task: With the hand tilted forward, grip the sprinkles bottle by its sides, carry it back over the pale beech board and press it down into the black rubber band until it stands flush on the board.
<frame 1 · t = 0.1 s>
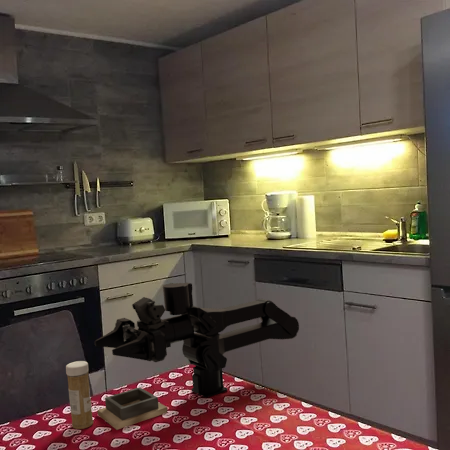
hand: (103, 347, 115), 17 cm above the table, tool horizontal, fingers open, 9 cm apart
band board: (132, 413, 121), on the table
sprinkles bottle: (82, 426, 117), on the table
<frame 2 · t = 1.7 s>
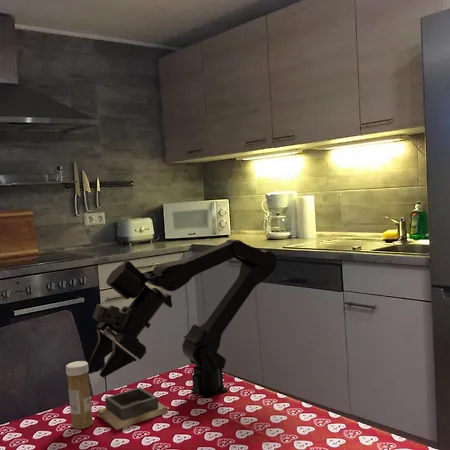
hand: (95, 370, 118), 11 cm above the table, tool tilted 45°, fingers open, 9 cm apart
nothing on the table moved.
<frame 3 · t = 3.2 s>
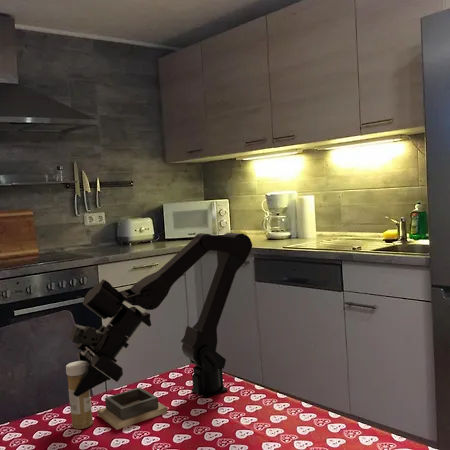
hand: (72, 392, 116), 8 cm above the table, tool tilted 45°, fingers closed on sprinkles bottle, 4 cm apart
sprinkles bottle: (82, 426, 117), on the table, touching gripper
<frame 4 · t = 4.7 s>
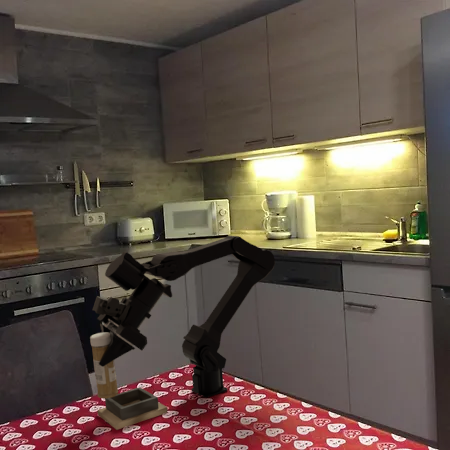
hand: (97, 362, 118), 13 cm above the table, tool tilted 45°, fingers closed on sprinkles bottle, 4 cm apart
sprinkles bottle: (108, 395, 119), point 5 cm above the table, touching gripper
when the fingers open (9 cm above the table, at t = 6.3 s): sprinkles bottle stays where it is, resting on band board.
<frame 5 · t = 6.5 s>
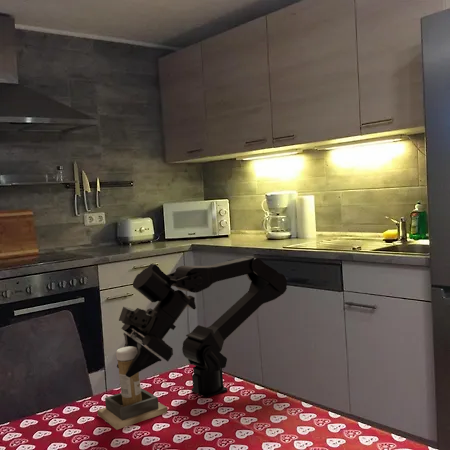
hand: (122, 372, 119), 10 cm above the table, tool tilted 45°, fingers open, 6 cm apart
sprinkles bottle: (133, 408, 121), point 1 cm above the table, touching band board
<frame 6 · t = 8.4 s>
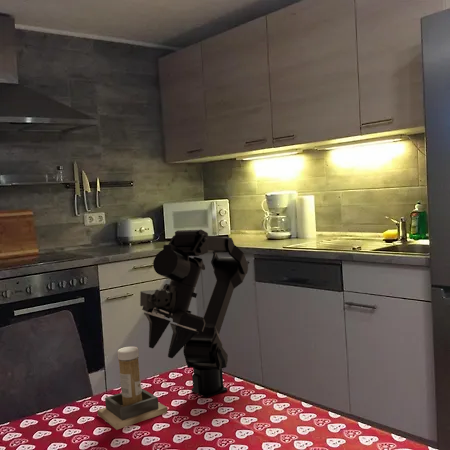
hand: (160, 352, 119), 13 cm above the table, tool tilted 25°, fingers open, 9 cm apart
nothing on the table moved.
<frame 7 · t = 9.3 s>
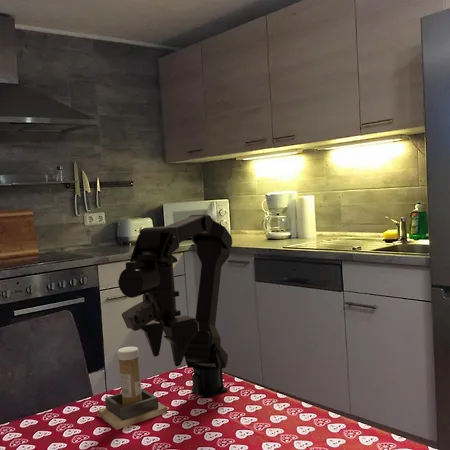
hand: (166, 360, 115), 13 cm above the table, tool pointing down, fingers open, 9 cm apart
nothing on the table moved.
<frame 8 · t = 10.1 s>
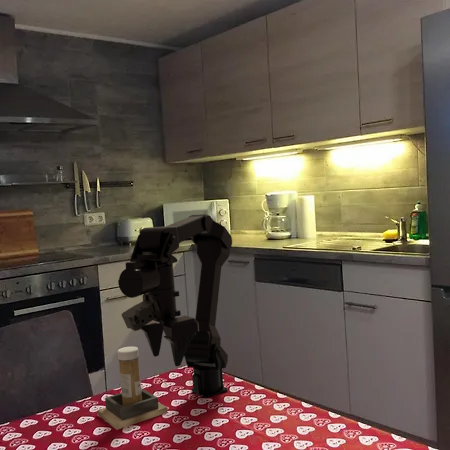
hand: (166, 360, 115), 13 cm above the table, tool pointing down, fingers open, 9 cm apart
nothing on the table moved.
at the end: sprinkles bottle 0.2 cm off-centre on the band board, point 1.0 cm above the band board's base; sprinkles bottle tilted 0°; the gripper is holding nothing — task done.
